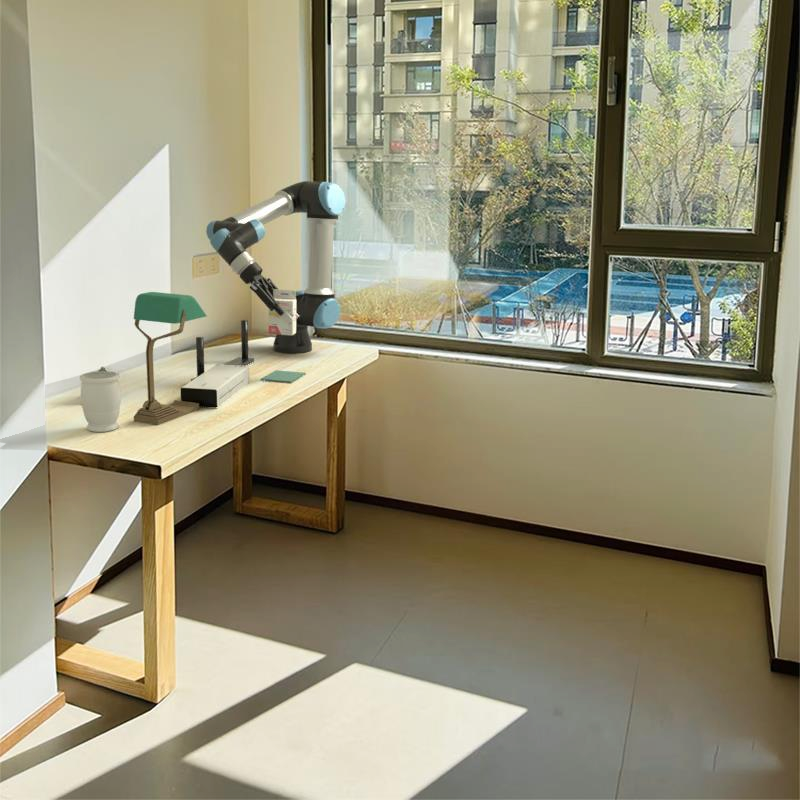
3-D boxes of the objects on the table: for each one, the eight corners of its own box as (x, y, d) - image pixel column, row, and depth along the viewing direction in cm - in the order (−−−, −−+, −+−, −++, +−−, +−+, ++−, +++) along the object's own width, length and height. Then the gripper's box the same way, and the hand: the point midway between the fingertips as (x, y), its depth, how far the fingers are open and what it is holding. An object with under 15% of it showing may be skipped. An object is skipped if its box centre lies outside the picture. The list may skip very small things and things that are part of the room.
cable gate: (238, 360, 341) (238, 319, 338) (254, 362, 340) (253, 320, 336) (191, 383, 305) (189, 337, 302) (207, 385, 304) (206, 338, 300)
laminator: (217, 409, 276) (216, 389, 275) (177, 407, 278) (176, 387, 276) (249, 383, 309) (248, 365, 308) (213, 381, 311) (213, 363, 309)
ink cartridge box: (268, 334, 312) (268, 290, 308) (272, 331, 317) (272, 288, 313) (292, 335, 311) (292, 291, 307) (296, 333, 315) (296, 290, 312)
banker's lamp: (123, 419, 263) (116, 296, 254) (168, 403, 281) (164, 288, 272) (169, 426, 257) (164, 301, 248) (212, 409, 275) (209, 292, 266)
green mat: (276, 371, 325) (276, 370, 325) (305, 374, 323) (305, 372, 323) (260, 380, 312) (260, 378, 312) (291, 383, 310) (291, 381, 310)
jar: (89, 422, 259) (86, 370, 255) (126, 423, 259) (124, 371, 255) (77, 433, 248) (73, 379, 245) (116, 434, 249) (113, 380, 245)
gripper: (250, 273, 321) (295, 323, 322) (228, 279, 304) (275, 332, 304) (264, 258, 319) (309, 308, 319) (243, 263, 302) (290, 317, 302)
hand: (293, 320), depth 312 cm, fingers closed on ink cartridge box, 5 cm apart
